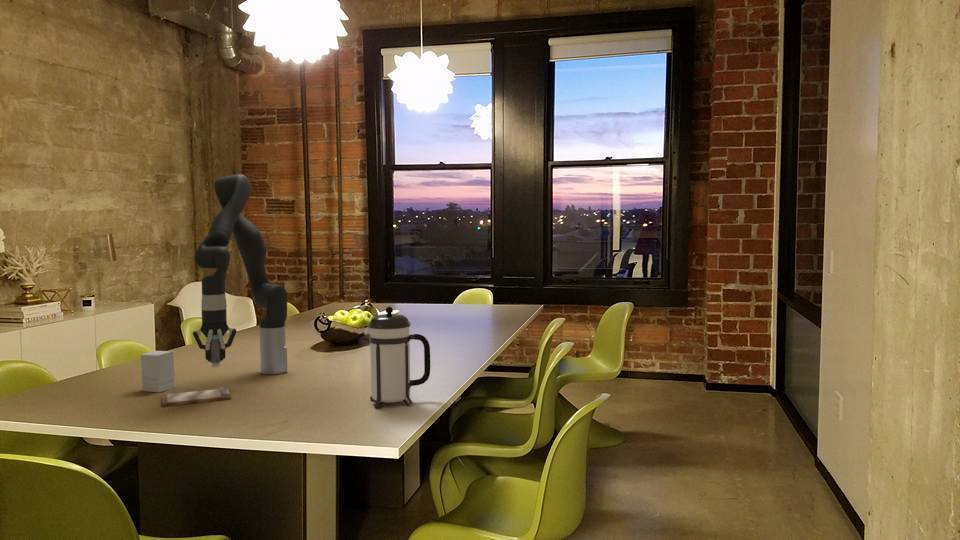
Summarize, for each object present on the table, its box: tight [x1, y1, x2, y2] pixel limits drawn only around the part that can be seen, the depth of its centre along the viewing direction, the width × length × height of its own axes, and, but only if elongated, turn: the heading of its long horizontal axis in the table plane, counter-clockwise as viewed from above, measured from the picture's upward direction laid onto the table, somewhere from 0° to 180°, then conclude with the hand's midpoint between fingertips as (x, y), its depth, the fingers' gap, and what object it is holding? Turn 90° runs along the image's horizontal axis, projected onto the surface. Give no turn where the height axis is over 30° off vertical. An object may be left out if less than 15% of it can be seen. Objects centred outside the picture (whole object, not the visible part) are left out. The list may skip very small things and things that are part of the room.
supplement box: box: [140, 350, 176, 393], centre depth 229 cm, size 7×7×13 cm
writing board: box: [161, 386, 232, 408], centre depth 217 cm, size 20×13×2 cm, turn 115°
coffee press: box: [363, 306, 431, 409], centre depth 209 cm, size 17×16×30 cm
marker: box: [209, 335, 222, 368], centre depth 221 cm, size 4×4×10 cm
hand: (215, 360), depth 221 cm, fingers closed on marker, 3 cm apart
